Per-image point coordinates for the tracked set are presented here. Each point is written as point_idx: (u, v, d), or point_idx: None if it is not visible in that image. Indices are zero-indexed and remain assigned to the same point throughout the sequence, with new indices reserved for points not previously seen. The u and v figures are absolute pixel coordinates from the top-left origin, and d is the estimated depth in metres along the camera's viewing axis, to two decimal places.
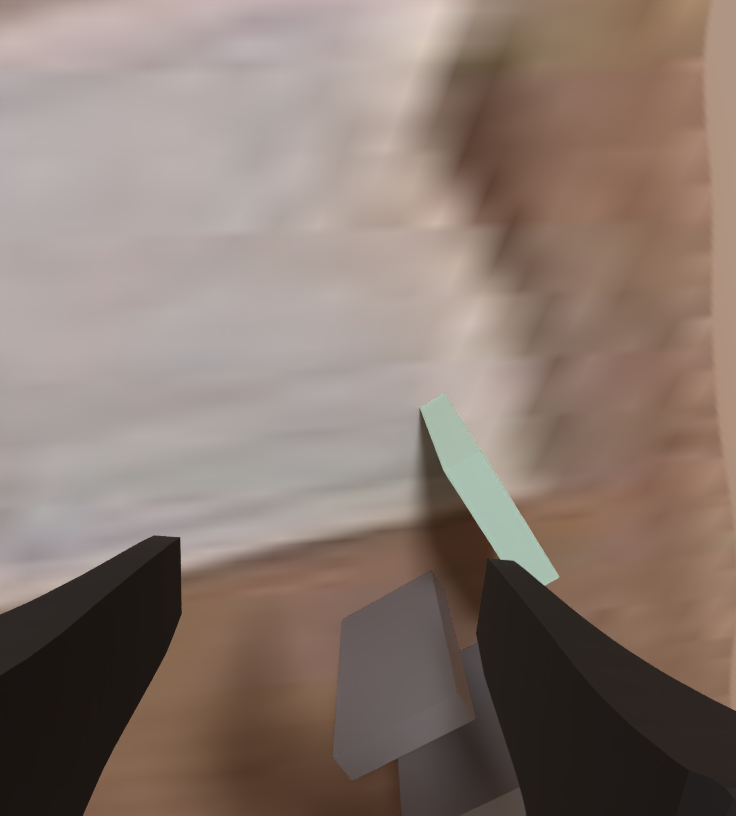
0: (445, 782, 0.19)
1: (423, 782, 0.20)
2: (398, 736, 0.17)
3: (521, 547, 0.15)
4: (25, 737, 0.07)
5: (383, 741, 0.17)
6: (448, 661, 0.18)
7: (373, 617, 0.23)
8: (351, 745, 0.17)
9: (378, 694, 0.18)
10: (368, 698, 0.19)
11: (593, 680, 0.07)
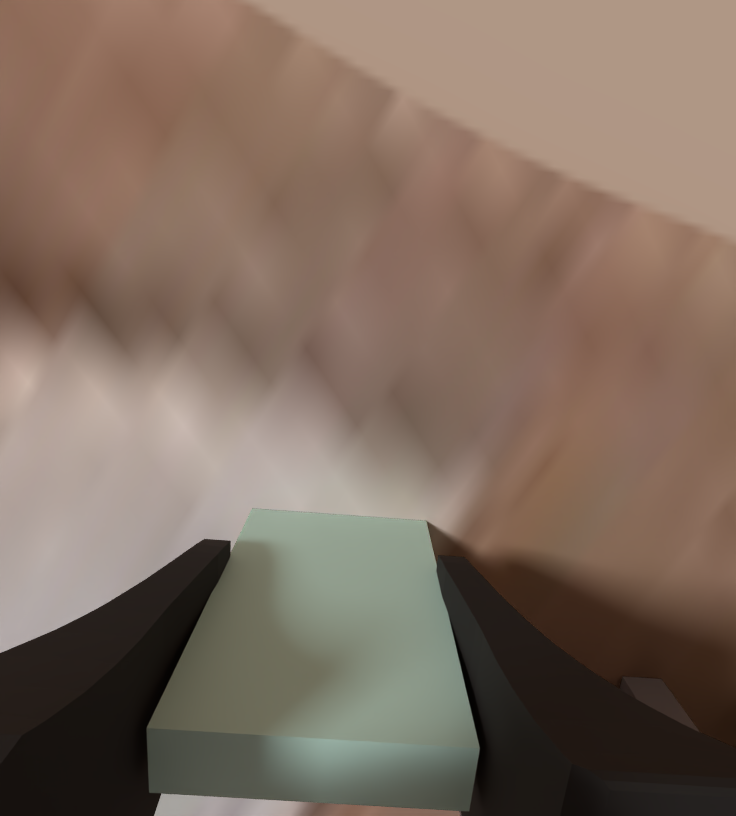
0: None
1: None
2: None
3: (374, 768, 0.08)
4: (113, 743, 0.07)
5: None
6: None
7: None
8: None
9: None
10: None
11: (511, 675, 0.07)
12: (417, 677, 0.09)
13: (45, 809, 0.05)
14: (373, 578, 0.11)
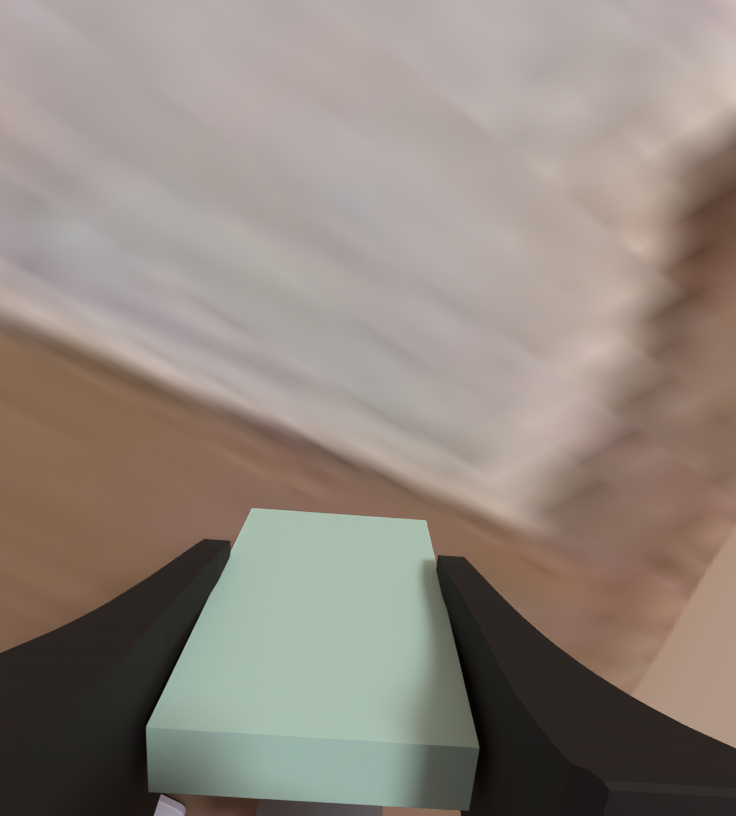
0: None
1: None
2: None
3: (373, 767, 0.08)
4: (112, 743, 0.07)
5: None
6: None
7: None
8: None
9: None
10: None
11: (511, 675, 0.07)
12: (417, 676, 0.09)
13: (45, 809, 0.05)
14: (373, 578, 0.11)
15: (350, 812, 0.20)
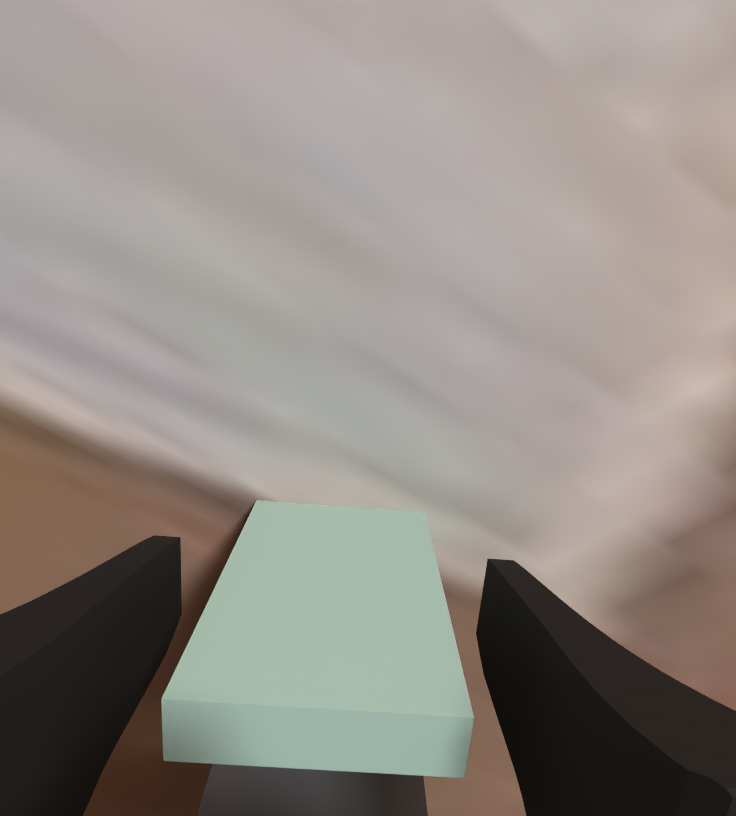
0: None
1: None
2: None
3: (374, 737, 0.08)
4: (24, 738, 0.07)
5: None
6: None
7: None
8: None
9: None
10: None
11: (593, 680, 0.07)
12: (415, 654, 0.09)
13: None
14: (374, 565, 0.12)
15: None
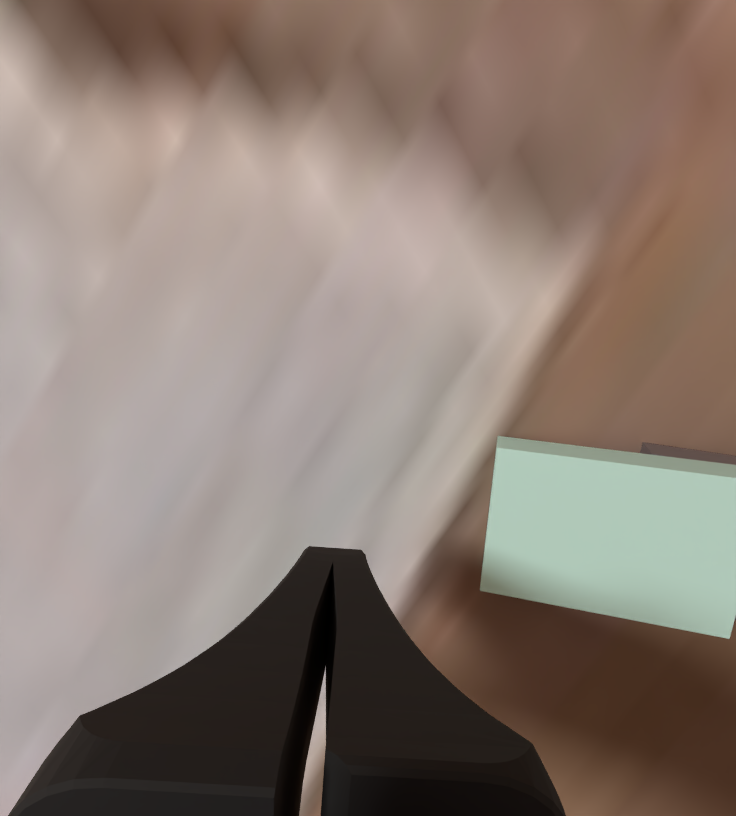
0: None
1: None
2: None
3: None
4: (295, 755, 0.07)
5: None
6: None
7: None
8: None
9: None
10: None
11: (340, 664, 0.07)
12: (710, 502, 0.14)
13: None
14: (595, 509, 0.15)
15: None
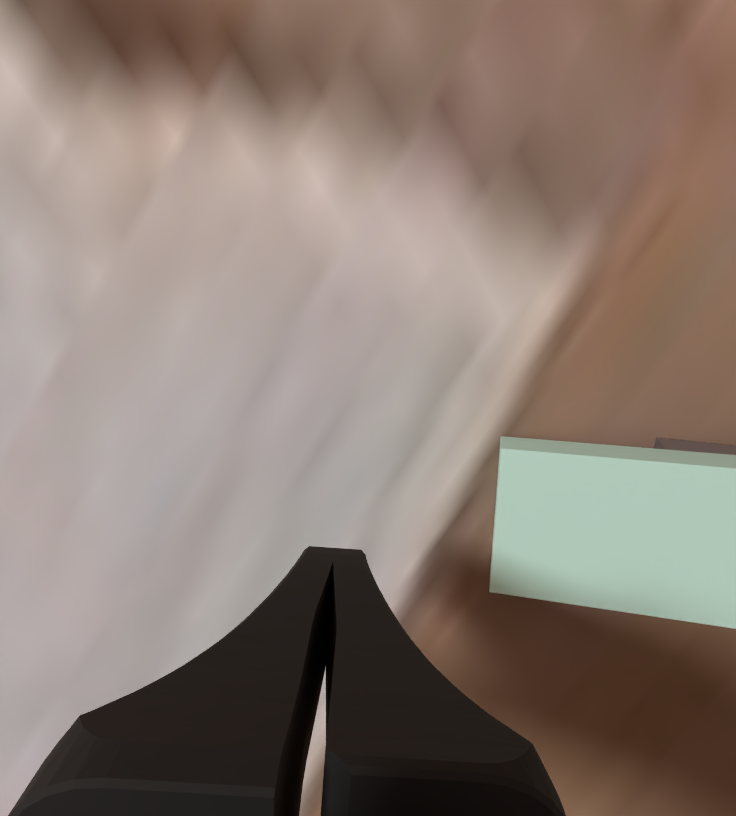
0: None
1: None
2: None
3: None
4: (295, 754, 0.07)
5: None
6: None
7: None
8: None
9: None
10: None
11: (340, 664, 0.07)
12: (716, 494, 0.14)
13: None
14: (602, 506, 0.15)
15: None
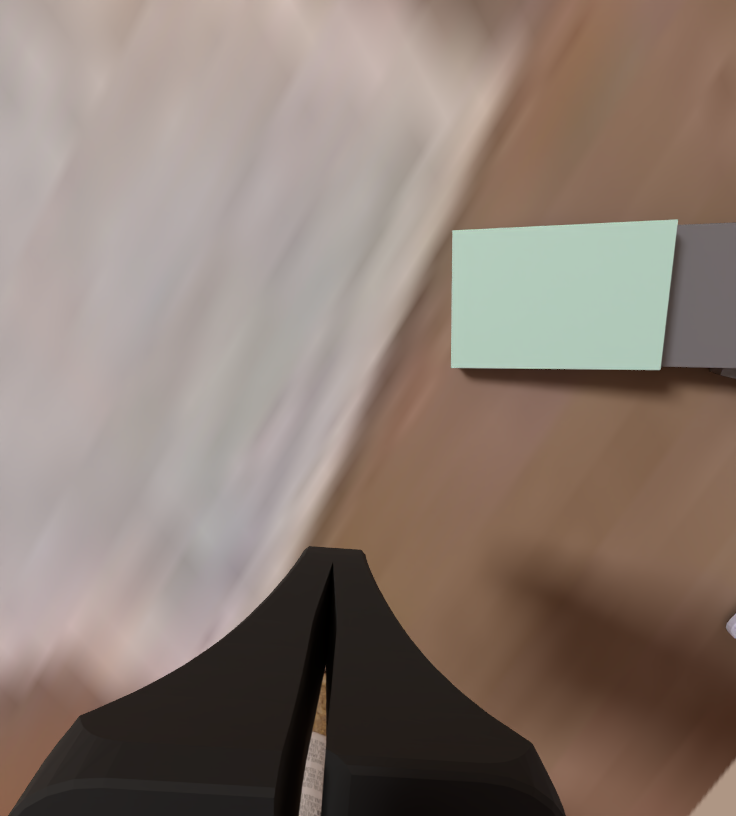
0: None
1: None
2: None
3: None
4: (296, 754, 0.07)
5: None
6: None
7: None
8: None
9: None
10: None
11: (340, 664, 0.07)
12: (631, 247, 0.17)
13: None
14: (539, 272, 0.17)
15: None
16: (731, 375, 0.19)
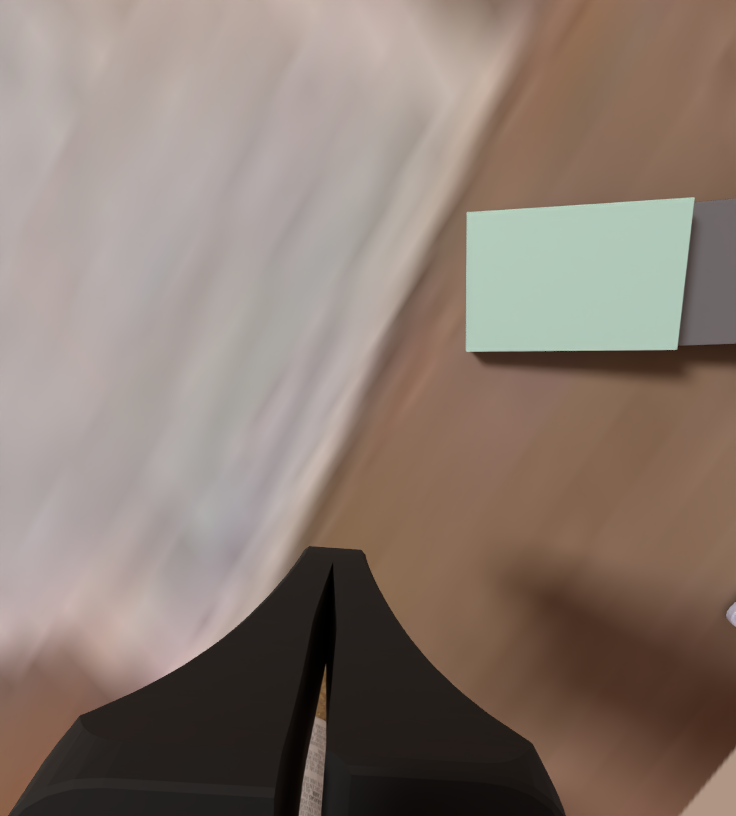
0: None
1: None
2: None
3: None
4: (296, 754, 0.07)
5: None
6: None
7: None
8: None
9: None
10: None
11: (340, 664, 0.07)
12: (647, 226, 0.17)
13: None
14: (555, 253, 0.17)
15: None
16: None
